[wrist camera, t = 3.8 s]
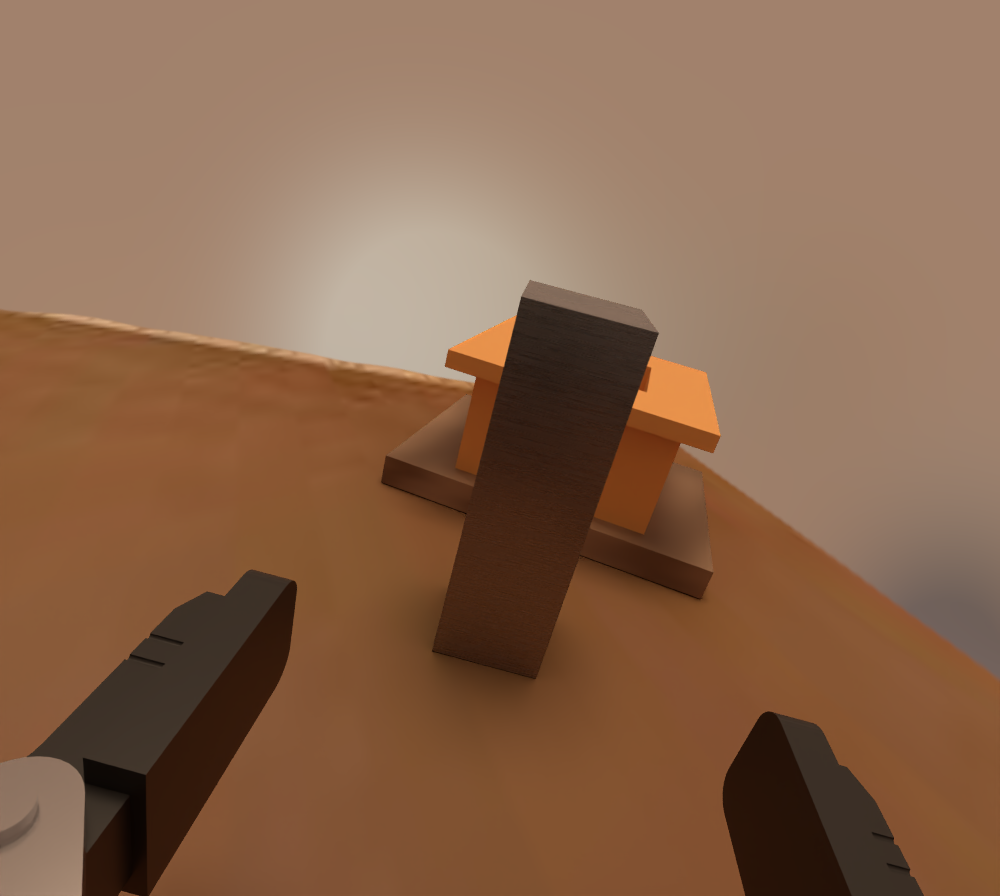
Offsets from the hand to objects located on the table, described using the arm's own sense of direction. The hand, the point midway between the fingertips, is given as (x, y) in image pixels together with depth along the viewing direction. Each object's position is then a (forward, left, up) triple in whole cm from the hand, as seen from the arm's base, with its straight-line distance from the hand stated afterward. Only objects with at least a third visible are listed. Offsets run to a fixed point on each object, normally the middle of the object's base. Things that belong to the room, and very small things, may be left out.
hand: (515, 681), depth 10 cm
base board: (-2, +22, -7) cm, 23 cm away
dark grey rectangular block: (-2, +9, -7) cm, 12 cm away
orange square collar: (-2, +22, -6) cm, 23 cm away
